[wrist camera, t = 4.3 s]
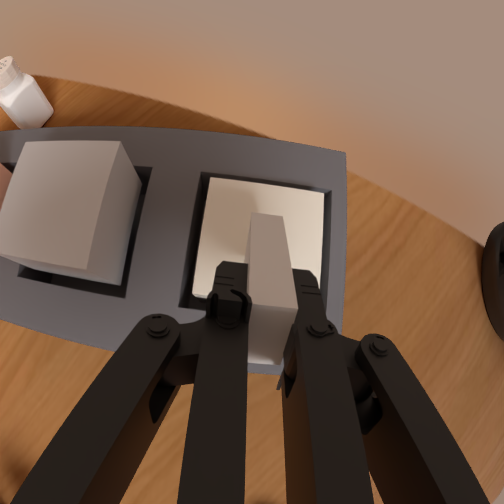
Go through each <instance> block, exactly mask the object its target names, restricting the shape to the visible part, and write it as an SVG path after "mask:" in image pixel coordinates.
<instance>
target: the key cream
mask: <svg viewBox="0 0 504 504" xmlns="http://www.w3.org/2000/svg"><path fill="white" fill-rule="evenodd" d="M251 212H255V213H263V214H270V215H277V216H283V220H284V226H285V232H286V237H287V243H288V249H289V255H290V261H291V267H292V268H295V269H303V270H310V271H311V272H312V273H313V275H314V276H315V277H316V278H317V281H318V285H319V289H320V275H321V258H322V238H323V212H324V193H320V192H314V191H308V190H301V189H295V188H289V187H282V186H275V185H268V184H261V183H254V182H246V181H239V180H231V179H222V178H214V177H211V178H210V183H209V189H208V194H207V200H206V206H205V212H204V218H203V224H202V230H201V236H200V243H199V249H198V256H197V262H196V269H195V276H194V283H193V290H192V294H193V295H194V296H195V297H196V298H197V299H198V300H199V301H200V302H205V303H206V301H207V296H208V294H209V292H211V291H212V288H213V282H214V277H215V272H216V267H217V266H218V265H219V264H220V263H221V262H222V261H230V262H238V263H244V259H245V252H246V245H247V239H248V232H249V226H250V219H251Z"/></svg>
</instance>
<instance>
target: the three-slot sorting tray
mask: <svg viewBox="0 0 504 504" xmlns="http://www.w3.org/2000/svg"><path fill="white" fill-rule="evenodd" d="M35 141H121V143H122V145H123V147H124V149H125V151H126V153H127V155H128V157H129V159H130V161H131V163H132V165H133V167H134V169H135V171H136V173H137V175H138V177H139V179H140V181H141V183H142V187H141V191H140V195H139V199H138V203H137V207H136V211H135V216H134V220H133V224H132V229H131V234H130V239H129V243H128V248H127V254H126V259H125V264H124V270H123V276H122V282H121V286H119V285H113V284H107V283H102V282H96V281H91V280H85V279H80V278H74V277H69V276H64V275H59V274H54V273H49V272H44V271H39V270H35V269H32V268H30V267H27V266H24V265H22V264H19V263H17V262H14V261H12V260H10V259H7V258H5V257H2V256H0V319H1V320H4V321H7V322H10V323H13V324H16V325H19V326H22V327H25V328H28V329H31V330H34V331H38V332H41V333H44V334H48V335H51V336H55V337H58V338H62V339H65V340H69V341H73V342H77V343H80V344H84V345H88V346H93V347H97V348H101V349H105V350H110V351H114V352H116V350H117V349H118V348H119V346H120V345H121V344H122V342H123V341H124V340H125V339H126V337H127V336H128V335H129V333H130V332H131V331H132V329H133V328H134V327H135V326H136V324H137V323H138V322H139V321H140V320H141V319H142V318H143V317H145V316H148V315H150V314H158V313H160V314H166V315H169V316H171V317H173V318H175V320H176V321H177V322H178V323H179V324H184V323H191V322H195V321H197V320H200V319H201V318H203V317H204V316H205V315H206V303H205V302H200V301H199V300H198V299H197V298H196V297H195V296H194V295H193V294H192V290H193V283H194V276H195V269H196V262H197V256H198V249H199V243H200V236H201V230H202V224H203V218H204V212H205V206H206V200H207V194H208V189H209V183H210V178H211V177H214V178H222V179H231V180H239V181H246V182H254V183H261V184H268V185H275V186H282V187H289V188H295V189H301V190H308V191H314V192H320V193H324V212H323V238H322V258H321V275H320V293H321V297H322V300H323V304H324V308H325V312H326V316H327V319H328V320H329V321H331V322H332V323H333V324H334V325H335V327H336V329H337V331H338V333H339V334H340V335H341V332H342V320H343V306H344V290H345V270H346V240H347V175H346V153H345V152H341V151H336V150H331V149H326V148H321V147H315V146H310V145H305V144H299V143H293V142H287V141H281V140H275V139H268V138H261V137H254V136H246V135H238V134H230V133H221V132H211V131H200V130H188V129H175V128H158V127H133V126H71V127H48V128H32V129H20V130H9V131H0V163H1V164H2V165H3V166H4V167H5V168H6V169H8V170H9V171H10V172H11V173H12V174H13V172H14V169H15V167H16V164H17V162H18V159H19V157H20V154H21V152H22V149H23V147H24V145H25V142H35ZM283 368H284V360H283V358H282V361H281V364H280V365H270V364H258V363H248V373H259V374H272V375H281V373H282V371H283Z"/></svg>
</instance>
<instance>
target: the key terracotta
mask: <svg viewBox="0 0 504 504" xmlns="http://www.w3.org/2000/svg"><path fill="white" fill-rule="evenodd" d="M12 175H13V174H12V173H11V172H10V171H9V170H8V169H6V168H5V167H4V166H3V165H2V164H1V163H0V211H1V208H2V204H3V201H4V198H5V195H6V192H7V189H8V186H9V183H10V180H11V178H12Z"/></svg>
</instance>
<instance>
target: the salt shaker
mask: <svg viewBox="0 0 504 504" xmlns="http://www.w3.org/2000/svg"><path fill="white" fill-rule="evenodd" d="M0 106H1V107H2V108H3V110H4V111H5V112H6V113H7V115H8V116H9V117H10V118H11V119H12V121H13V122H14V123H15V124H16V125H17V127H19V128H20V129H32V128H41V127H42V126H43V125H44V123H45V122H46V121H47V120H48V119H49V118H50V117H51V116H52V114H53V112H54V111H53V108H52V106H51V104H50V103H49V101H48V100H47V98H46V97H45V95H44V94H43V92H42V90H41V89H40V87H39V86H38V84H37V82H36V81H35V79H34V78H33V77H32V76H30V75H28V74H26V73H23V72H20V68H19V67H18V66H17V64H16V62H15V61H14V59H13V57H12V56H7V57H5V58H3V59H1V60H0Z"/></svg>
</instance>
